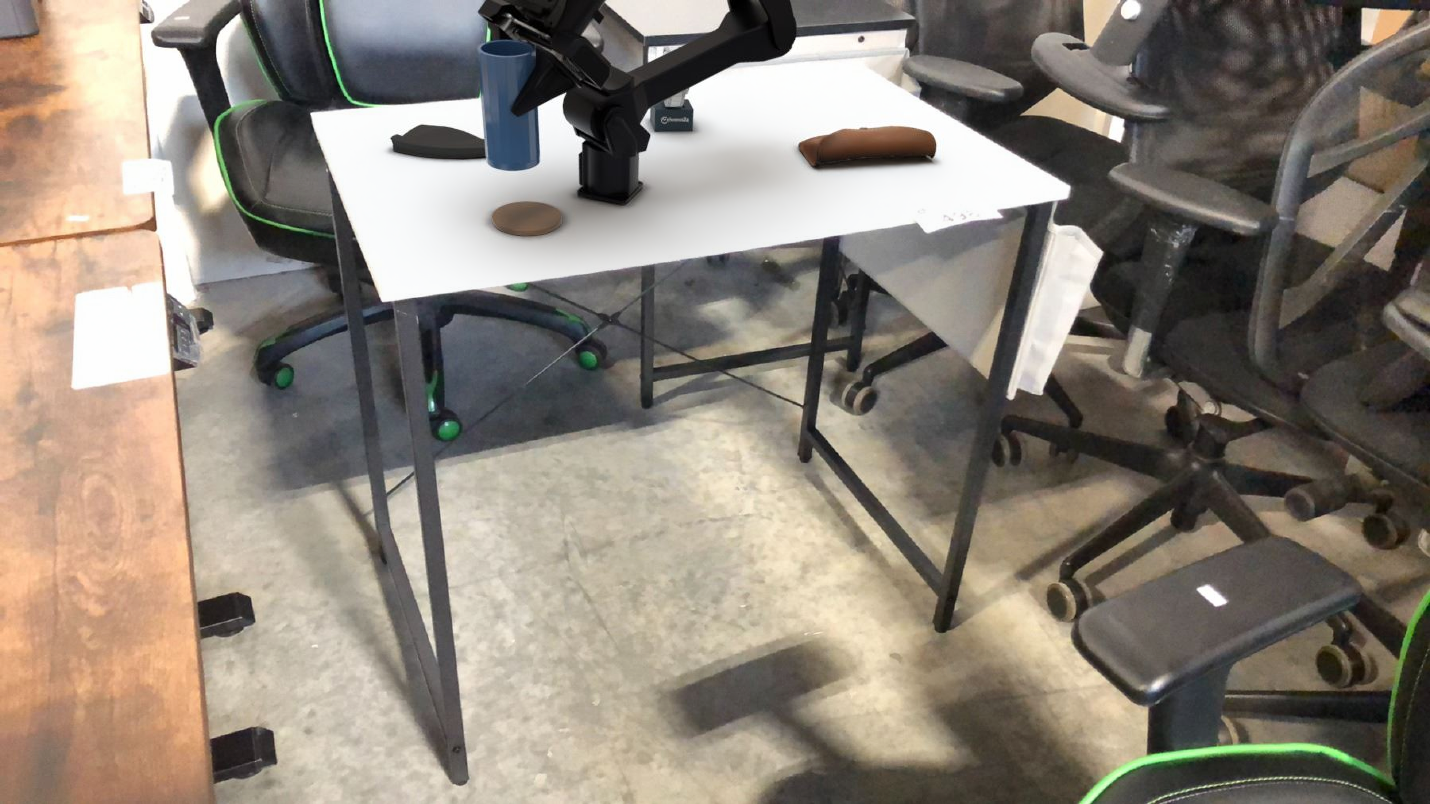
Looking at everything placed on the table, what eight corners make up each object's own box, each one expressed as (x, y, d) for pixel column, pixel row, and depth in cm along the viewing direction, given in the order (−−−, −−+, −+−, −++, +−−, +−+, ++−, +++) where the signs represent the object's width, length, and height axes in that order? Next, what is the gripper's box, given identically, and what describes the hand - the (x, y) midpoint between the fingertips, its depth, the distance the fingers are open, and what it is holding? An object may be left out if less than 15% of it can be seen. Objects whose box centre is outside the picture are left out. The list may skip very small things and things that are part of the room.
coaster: (573, 213, 118) (573, 208, 117) (543, 241, 111) (543, 236, 111) (512, 201, 119) (512, 196, 119) (479, 227, 113) (479, 222, 113)
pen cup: (540, 150, 115) (535, 40, 108) (540, 171, 110) (535, 57, 103) (487, 150, 114) (478, 39, 107) (485, 171, 109) (475, 56, 102)
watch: (656, 136, 140) (659, 57, 133) (648, 116, 146) (650, 39, 140) (695, 136, 141) (700, 57, 134) (685, 115, 147) (689, 40, 141)
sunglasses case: (908, 136, 144) (926, 105, 139) (922, 176, 142) (942, 146, 136) (793, 143, 139) (807, 111, 134) (806, 184, 137) (821, 154, 131)
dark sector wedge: (483, 168, 127) (482, 156, 126) (388, 151, 129) (387, 139, 128) (512, 146, 133) (512, 134, 132) (422, 129, 136) (420, 118, 135)
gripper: (487, -84, 106) (403, 36, 107) (585, -47, 95) (491, 87, 95) (552, -14, 115) (475, 96, 116) (649, 27, 104) (563, 148, 104)
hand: (498, 105), depth 108 cm, fingers closed on pen cup, 6 cm apart
